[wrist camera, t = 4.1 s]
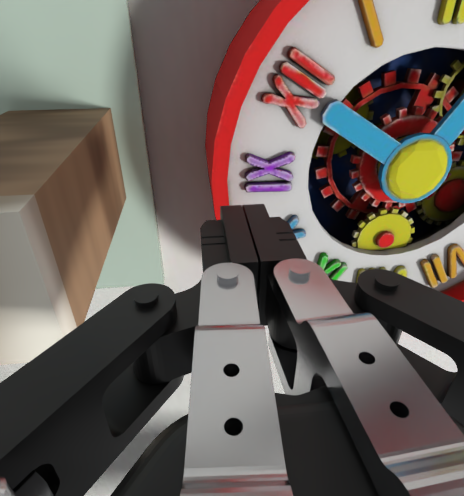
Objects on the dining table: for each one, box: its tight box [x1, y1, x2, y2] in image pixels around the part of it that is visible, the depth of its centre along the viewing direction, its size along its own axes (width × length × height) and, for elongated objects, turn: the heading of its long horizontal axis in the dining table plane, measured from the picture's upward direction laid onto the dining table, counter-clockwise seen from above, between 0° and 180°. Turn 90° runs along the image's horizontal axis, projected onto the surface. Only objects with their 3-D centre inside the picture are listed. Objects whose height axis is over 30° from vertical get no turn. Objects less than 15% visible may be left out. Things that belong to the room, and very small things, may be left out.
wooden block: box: [0, 108, 126, 365], centre depth 15 cm, size 5×5×12 cm
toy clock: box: [205, 0, 464, 302], centre depth 19 cm, size 20×6×20 cm
